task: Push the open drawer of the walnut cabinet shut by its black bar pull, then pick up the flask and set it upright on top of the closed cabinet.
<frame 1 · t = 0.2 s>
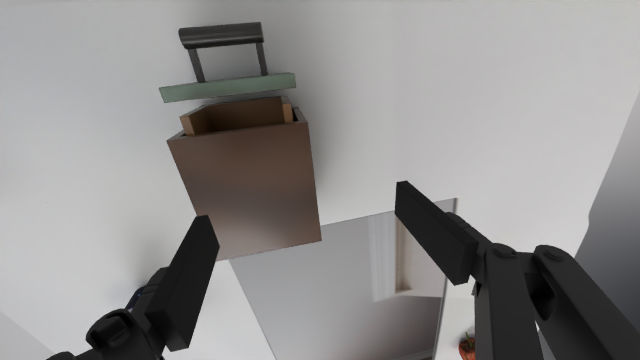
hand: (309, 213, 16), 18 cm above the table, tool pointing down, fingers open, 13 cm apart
cabinet: (261, 165, 32), on the table
drawer: (246, 123, 25), point 5 cm above the table, slide at 3.0 cm
pomegranate: (464, 338, 66), on the table
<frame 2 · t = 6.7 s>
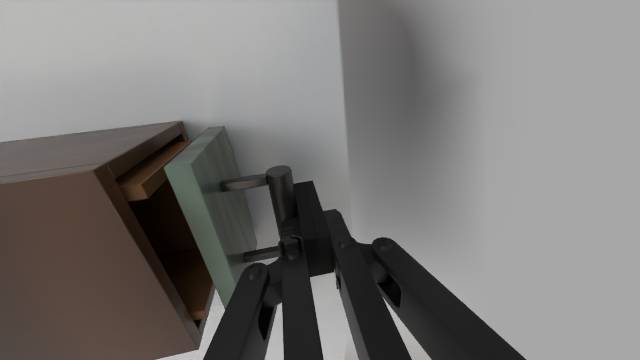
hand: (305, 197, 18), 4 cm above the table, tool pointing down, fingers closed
cabinet: (118, 206, 19), on the table
drawer: (168, 228, 16), point 5 cm above the table, slide at 2.0 cm, touching gripper
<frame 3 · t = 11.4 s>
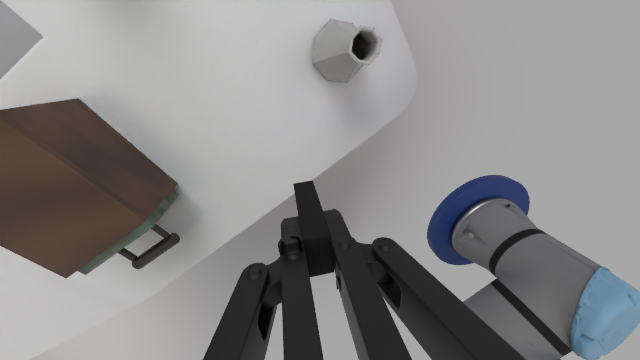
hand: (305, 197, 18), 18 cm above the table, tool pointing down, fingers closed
flask: (338, 52, 30), on the table
cabinet: (99, 171, 31), on the table
drawer: (104, 209, 29), point 5 cm above the table, slide at 0.0 cm, touching cabinet
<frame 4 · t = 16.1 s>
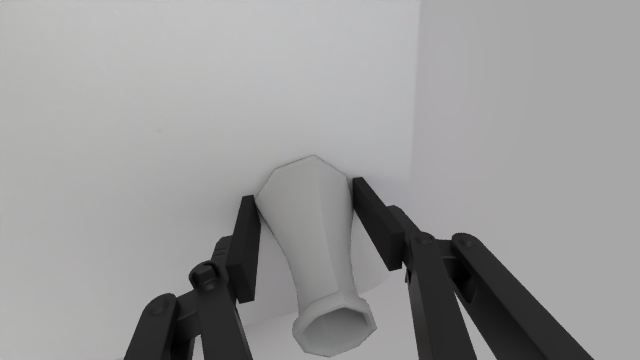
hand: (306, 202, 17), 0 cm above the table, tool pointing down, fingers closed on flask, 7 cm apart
flask: (305, 199, 18), on the table, touching gripper
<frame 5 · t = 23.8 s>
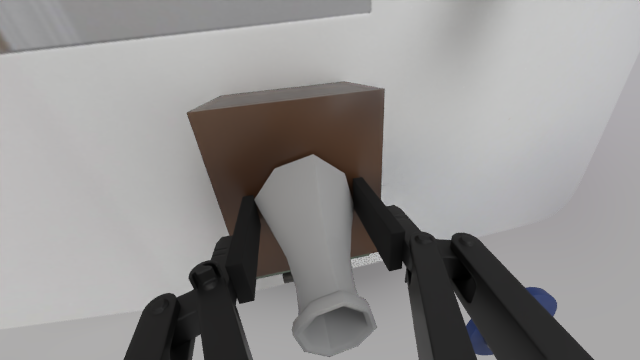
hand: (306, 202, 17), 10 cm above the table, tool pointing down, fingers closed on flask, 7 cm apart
flask: (305, 198, 18), point 10 cm above the table, touching gripper
cabinet: (294, 156, 26), on the table
drawer: (303, 207, 24), point 5 cm above the table, slide at 0.0 cm, touching cabinet
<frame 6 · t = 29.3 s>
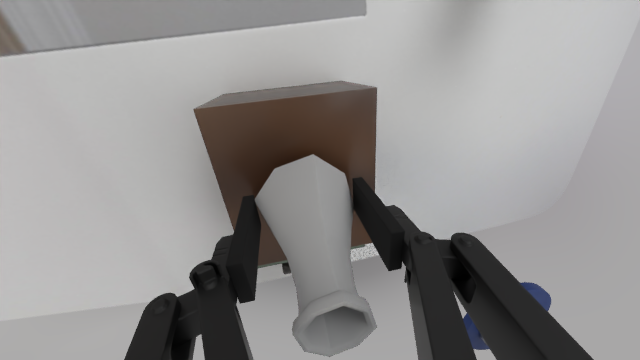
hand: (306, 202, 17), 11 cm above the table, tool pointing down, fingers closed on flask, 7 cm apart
flask: (305, 198, 18), point 11 cm above the table, touching gripper
cabinet: (294, 152, 27), on the table
drawer: (302, 200, 25), point 5 cm above the table, slide at 0.0 cm, touching cabinet
when the fingers open (12 cm above the table, at t = 34.5 s): flask drops 2 cm, resting on cabinet.
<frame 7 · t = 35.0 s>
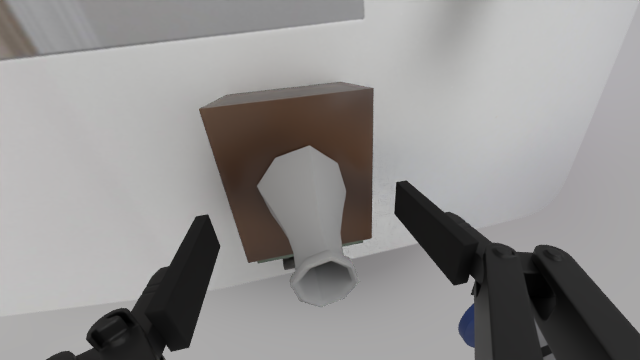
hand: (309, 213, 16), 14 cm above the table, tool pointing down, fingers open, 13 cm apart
flask: (302, 186, 20), point 9 cm above the table, touching cabinet
cabinet: (294, 151, 28), on the table
drawer: (302, 198, 26), point 5 cm above the table, slide at 0.0 cm, touching cabinet
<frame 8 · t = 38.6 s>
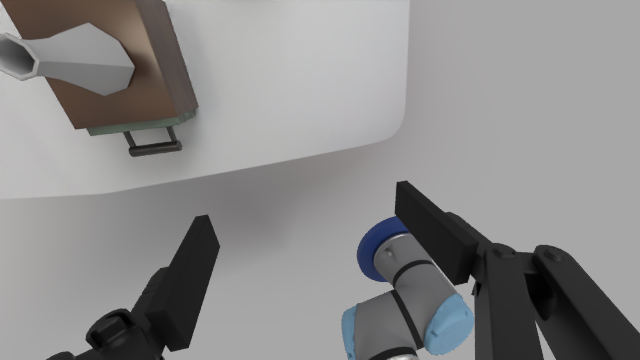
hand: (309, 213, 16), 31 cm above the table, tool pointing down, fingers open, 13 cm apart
flask: (100, 61, 27), point 9 cm above the table, touching cabinet
cabinet: (141, 63, 35), on the table
drawer: (135, 93, 33), point 5 cm above the table, slide at 0.0 cm, touching cabinet
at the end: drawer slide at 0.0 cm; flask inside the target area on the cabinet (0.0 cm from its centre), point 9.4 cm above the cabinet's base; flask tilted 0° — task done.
